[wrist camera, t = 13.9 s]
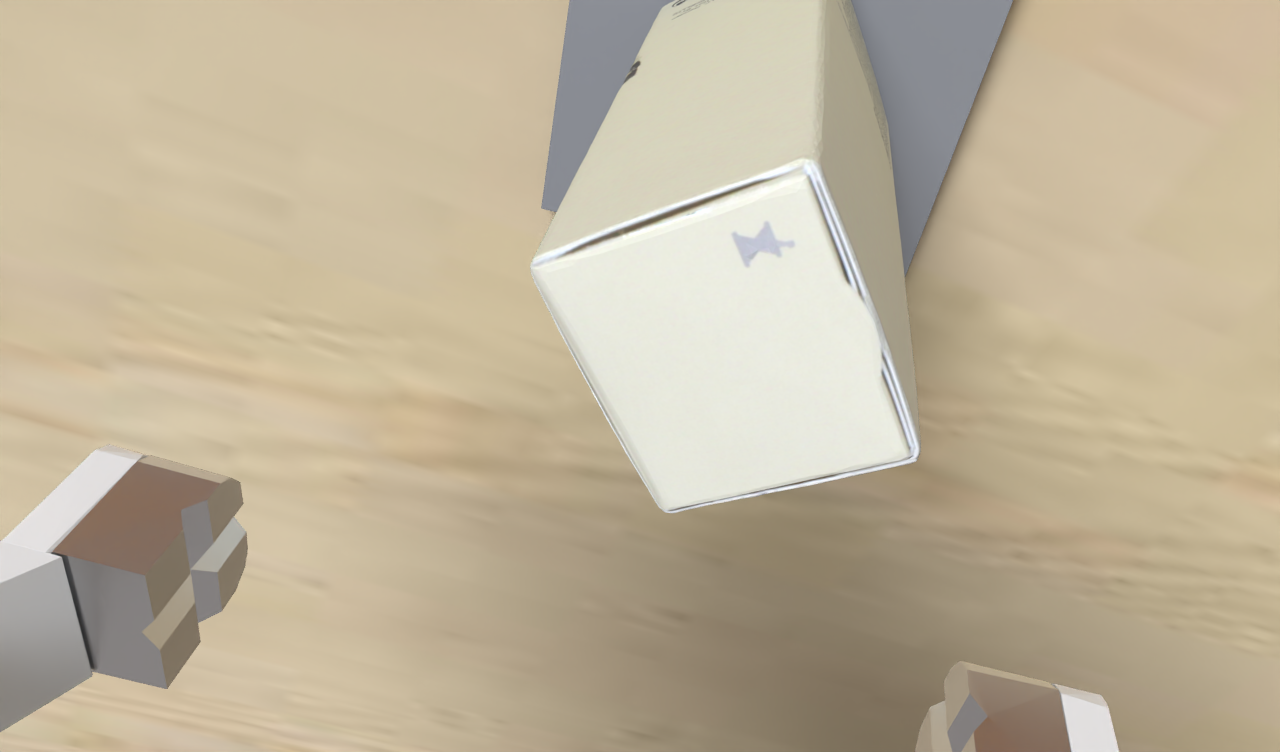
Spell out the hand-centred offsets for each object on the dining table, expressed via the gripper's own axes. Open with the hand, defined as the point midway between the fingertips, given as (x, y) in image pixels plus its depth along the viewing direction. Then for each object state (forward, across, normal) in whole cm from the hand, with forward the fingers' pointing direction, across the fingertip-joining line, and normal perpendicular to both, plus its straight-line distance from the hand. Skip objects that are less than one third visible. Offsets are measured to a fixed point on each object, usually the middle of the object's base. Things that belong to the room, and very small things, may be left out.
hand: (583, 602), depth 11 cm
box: (+17, -1, -1) cm, 17 cm away
